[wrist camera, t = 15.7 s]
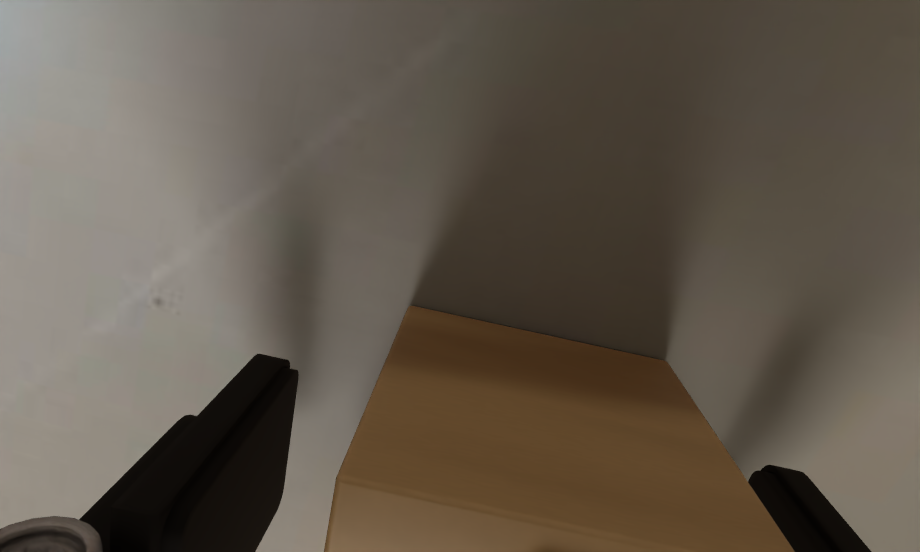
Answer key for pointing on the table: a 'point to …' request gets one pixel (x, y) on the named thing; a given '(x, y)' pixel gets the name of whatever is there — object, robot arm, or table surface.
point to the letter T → (535, 452)
